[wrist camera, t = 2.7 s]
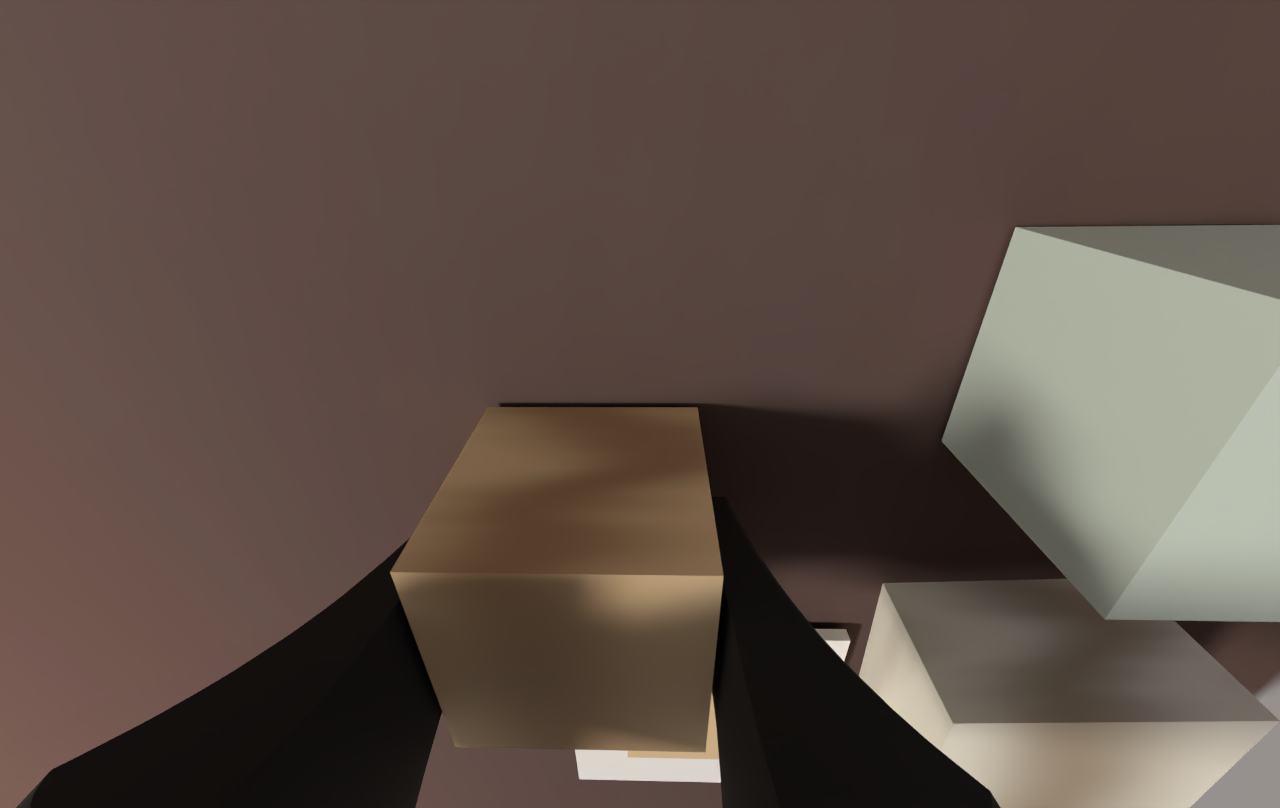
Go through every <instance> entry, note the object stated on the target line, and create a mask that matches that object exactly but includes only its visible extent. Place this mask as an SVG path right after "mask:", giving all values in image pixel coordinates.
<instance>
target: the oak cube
mask: <svg viewBox="0 0 1280 808" xmlns="http://www.w3.org/2000/svg"><path fill="white" fill-rule="evenodd" d="M390 574H391V576H392V579H393V582H394V584H395V587H396V590H397V592H398V595H399V598H400V600H401V603H402V606H403V608H404V611H405V614H406V616H407V619H408V622H409V624H410V627H411V630H412V632H413V635H414V638H415V640H416V643H417V646H418V648H419V651H420V653H421V656H422V659H423V661H424V664H425V667H426V669H427V672H428V675H429V677H430V680H431V683H432V685H433V688H434V691H435V693H436V696H437V699H438V701H439V704H440V707H441V709H442V712H443V715H444V717H445V720H446V723H447V725H448V728H449V731H450V733H451V736H452V739H453V741H454V744H455V747H480V748H527V749H574V750H620V751H667V752H706V742H707V733H708V723H709V713H710V703H711V694H712V684H713V674H714V664H715V655H716V645H717V635H718V625H719V616H720V606H721V596H722V586H723V577H724V576H723V569H722V563H721V556H720V550H719V543H718V537H717V530H716V524H715V517H714V511H713V504H712V498H711V491H710V485H709V479H708V472H707V466H706V459H705V453H704V446H703V440H702V433H701V427H700V420H699V414H698V407H488V408H487V409H486V411H485V413H484V415H483V416H482V418H481V420H480V421H479V423H478V425H477V426H476V428H475V430H474V431H473V433H472V435H471V436H470V438H469V440H468V442H467V443H466V445H465V447H464V448H463V450H462V452H461V453H460V455H459V457H458V458H457V460H456V462H455V463H454V465H453V467H452V469H451V470H450V472H449V474H448V475H447V477H446V479H445V480H444V482H443V484H442V485H441V487H440V489H439V490H438V492H437V494H436V495H435V497H434V499H433V501H432V502H431V504H430V506H429V507H428V509H427V511H426V512H425V514H424V516H423V517H422V519H421V521H420V522H419V524H418V526H417V528H416V529H415V531H414V533H413V534H412V536H411V538H410V539H409V541H408V543H407V544H406V546H405V548H404V549H403V551H402V553H401V555H400V556H399V558H398V560H397V561H396V563H395V565H394V566H393V568H392V570H391V571H390Z"/></svg>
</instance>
